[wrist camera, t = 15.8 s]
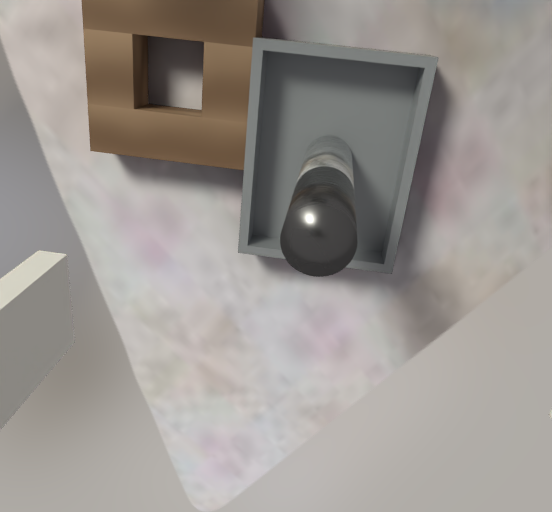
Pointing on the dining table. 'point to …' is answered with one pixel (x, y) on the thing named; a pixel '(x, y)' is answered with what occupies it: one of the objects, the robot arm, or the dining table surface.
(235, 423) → the dining table surface
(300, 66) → the tray
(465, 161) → the dining table surface
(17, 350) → the robot arm
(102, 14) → the plate
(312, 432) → the dining table surface
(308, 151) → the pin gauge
